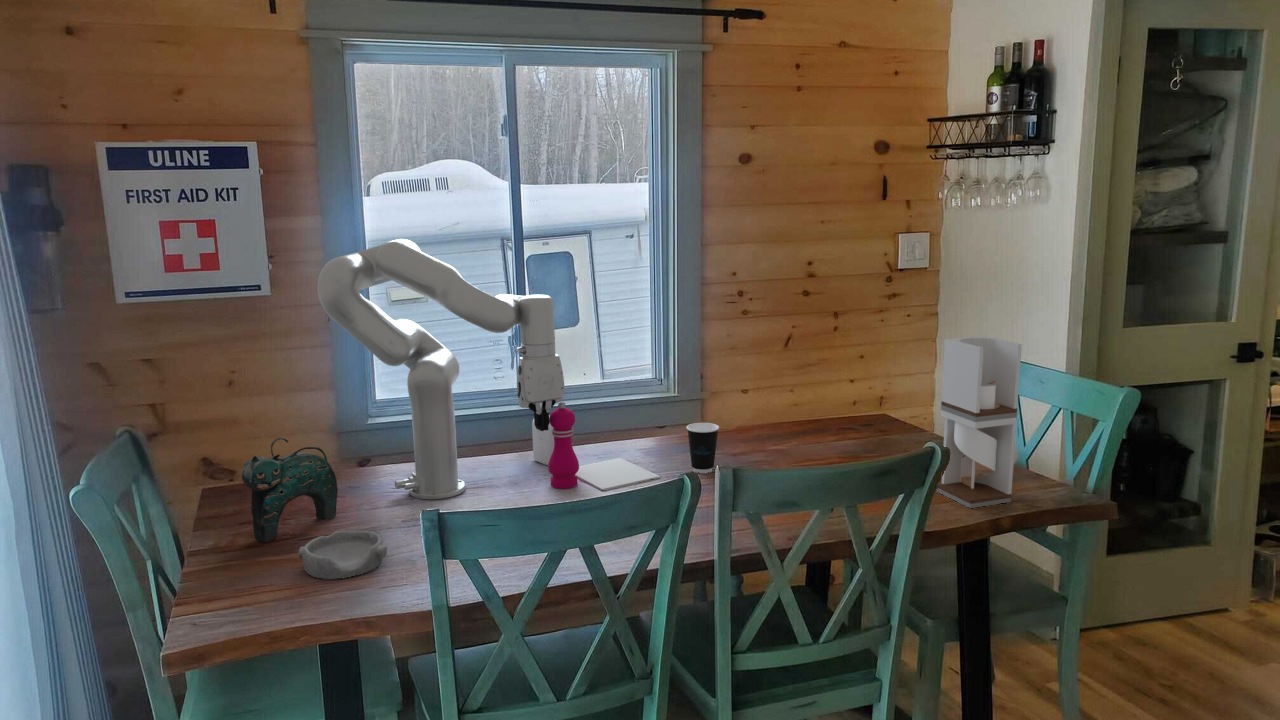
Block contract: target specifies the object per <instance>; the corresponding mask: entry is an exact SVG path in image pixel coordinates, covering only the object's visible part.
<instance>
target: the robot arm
mask: <svg viewBox="0 0 1280 720" xmlns="http://www.w3.org/2000/svg"><path fill="white" fill-rule="evenodd" d="M392 281H393V282H395V283H397V284H399V285H401V286H403V287H405V288H406V289H409V290H411V291H414V292H416V293H418V294H420V295H422V296H423V297H426V298H429V300H432V301H434V302H436V303H437V304H438V305H440V306H441V307H443V308H445V310H448V311H449V312H451V313H452V314H454V315H455V316H457V317H459V318H460V319H462V320H464V321H467V322H468V323H470V324H472V325H475V326H477V327H479V328H480V329H483V330H485V331H488V332H489V333H495V334H503V333H507V332H508V331H510V330H511V329H512V328H513V327H514V326H520V346H519V347H516V350H515V352H516V354H517V355H518V354H520V355H521V356H519V360H518V365H517V374H516V375H517V376H516V377H517V378H516V391H517V398H518V403H517V404H518V407H519V408H524V409H530V411H531V412H532V413H533V419H534V423H535V427H536V429H538V430H540V431H544V430H548V425H549V415H550V414H551V412H552V409H553V407H554V406H555V404H559V402H563V401H564V396H565V393H566V392H565V391H566V389H565V379H564V372H563V371H564V370H563V365H562V361H561V357H560V355H559V354H557V353H556V336H555V314H554V299H553V298H552V297H551V296H550V295H548V294H529V295H519V294H518V295H516V294H511V293H510V294H507V293H501V294H497V295H492V294H490V293H488V292H485V291H483V290H482V289H480V288H478V287H476V286H474V285H472V283H469V282H468V281H467V280H466V279H464V277H463V276H462V275H461V274H460V272H459V271H458V270H457V269H456V268H455V267H453V266H452V265H450V264H448V263H445V262H443V261H441V260H439V259H438V258H435V257H433V256H431V255H429V254H427V253H425V252H422V251H421V249H420V247H419V246H418V245H417V244H416V243H415V242H413V241H411V240H409V239H405V238H398V239H394V240H390V241H387V242H385V243H383V244H380V245H377V246H373V247H370V248H367V249H363V250H360V251H356V252H352V253H349V254H345V255H341V256H338V257H334V258H332V259H330V260H329V261H328V262H326V263H325V265H324V266H323V267H322V268H321V270H320V272H319V276H318V279H317V295H318V296H317V297H318V299H319V302H320V304H321V307H322V308H323V309H324V312H325V313H326V314H327V315H328V316H329V317H330V318H331V319H332V321H334V322H335V323H337V324H338V326H340V327H341V328H342V329H344V330H345V331H346V332H347V333H348V334H349V335H351V336H352V337H353V338H354V339H355V340H356V341H357V342H358V343H360V344H361V345H362V346H363V347H364V348H366V350H368V351H369V352H370V353H372V354H373V355H374V356H375V357H376V358H377V359H378V360H380V362H382V363H383V364H385V365H387V366H389V367H391V366H392V367H397V366H398V367H399V366H401V365H404V366H406V367H407V368H408V369H409V372H408V374H407V375H408V376H407V380H406V381H407V382H406V383H407V384H406V385H407V393H408V397H409V402H410V403H409V404H410V412H411V424H412V425H411V426H412V436H413V437H412V439H413V440H412V441H413V453H414V454H413V455H414V471H415V472H413V471H412V472H411V476H408V477H407V478H405V479H403V478H402V479H397V480H395V481H394V487H395V489H396V490H399V489H404V490H405V491H407V490H409V494H410V495H411V496H412V497H413V498H417V499H419V500H420V499H422V500H442V499H447V498H448V499H449V498H453V497H455V496H458V495H460V494H462V493H463V492H464V491H466V483H465V481H463V480H462V479H459V471H458V469H459V468H458V449H457V447H458V446H457V431H456V416H455V414H456V413H455V405H454V398H453V385H454V384H455V382H456V381H457V380H458V378H459V374H460V364H459V361H458V359H457V357H456V356H455V355H454V354H453V353H452V352H451V351H450V350H449V349H448V348H447V347H446V346H444V344H442V343H441V342H440V341H438V340H437V339H436V338H435V337H434V336H433V335H432V334H431V333H429V332H428V331H427V330H425V329H424V328H423V327H422V326H421V325H419V324H418V323H416V322H415V321H413V320H410V319H405V318H397V319H393V318H392V317H390V316H389V315H387V314H386V313H385V312H384V311H383V310H382V309H381V308H380V307H379V306H377V305H376V304H375V303H373V302H371V301H370V300H369V299H367V298H365V297H364V296H363V294H361V292H360V291H363V290H365V289H367V288H372V287H375V286H377V285H381V284H384V283H387V282H392Z"/></svg>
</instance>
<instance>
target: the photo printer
mask: <svg viewBox="0 0 1280 720" xmlns="http://www.w3.org/2000/svg"><path fill="white" fill-rule="evenodd" d="M549 417H550V414H549ZM531 427H532V428H531V432H532V433H531V434H532V453H533V460H534V461H536V462H538V463H540V464H543V465H545V466H548V463H549V459H550V457H551V455H552V453H553V449H554V436H552V429H553V427H552V426H551V425H550V423H549V425H548V430H544V431H540V430H538V429H536V427H535V423H534V418H533V420H532V421H531Z"/></svg>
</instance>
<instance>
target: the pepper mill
mask: <svg viewBox="0 0 1280 720" xmlns="http://www.w3.org/2000/svg"><path fill="white" fill-rule="evenodd" d="M557 406H558V407H557V408H555V409H554V410H551V412H550V413H549V415H550V417H549V423H550V425H551V426H552V427H553V429H552V436H554V449H553V453H552V455H551V457H550V459H549V463H548V465H547V470H548V472H549V474H551V477H550V486H551V487H552V488H554V489H560V490H564V489H565V490H567V489H572V488H573V489H574V488H575V487H576V486H577V485H578V478H577V476H576V475H575V474H576V473H577V472H578V470H579V466H580V463H579V460H578V457H577V455H576V453H575V451H574V448H573V444H572V443H573V442H572V439H573V438H572V436H574V428H573V426H574V425H575V423H576V416H575V413H574V411H572V410H571V409H570V408H567V407H566V402H564V401H560V402H558V403H557Z"/></svg>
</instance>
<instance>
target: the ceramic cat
mask: <svg viewBox="0 0 1280 720" xmlns="http://www.w3.org/2000/svg"><path fill="white" fill-rule="evenodd" d="M280 440H282V441H284V442H286V443H287V444H288V443H289V440H288V439H287V438H285V437H277V438H276V439H274V440H272V442H271V444H270V451H271V452H270V453H271V457H267V456H256V455H254V456H253V457H252V458H250V459H248V460H247V461H246V462H245V463H244V464H243V466H242V471H241V479H242V483H244V485H245V486H246V487H248V488H249V489H251V511H250V512H251V515H252V516H251V517H252V526H253V527H252V528H253V535H254V540H255V539H256V541H258V542H260V541H262V542H261V543H263V542H264V543H263V544H266V543H265V542H267V543H269V542H272V541H275V540H277V538H278V529H279V528H278V527H279V521H280V518H281V516H282V514H283V511H284V509H285V507H286V505H288V504H289V502H291V501H293V500H295V499H296V498H297V499H298V497H301V496H306V497H309V498H310V499H312V501H313V504H314V508H315V516H316V518H317V519H320V520H321V519H322V521H326V520H327V519H328V520H331V519H333V517H334V518H335V517H336V516H337V500H338V490H339V489H338V482H337V480H338V479H337V476H336V474H335V471H334V469H333V468H332V466H331V464H330V463H329V462H328V458H327V456H326V454H325V452H324V450H323V449H322V448H320V447H318V446H317V447H316V446H305V447H301V448H300V449H297V450H295V451H294V452H293V453H290V454H288V455H285V456H282V457H281V454H275V455H274V452H273V446H274V445H275V443H276V442H277V441H280ZM304 450H317V451H319V452H320V453H321V454H322V455H323V457H322V456H320V455H317V454H314V453H310V452H301V451H304ZM279 457H281V458H279ZM328 520H327V521H328ZM274 539H275V540H274ZM271 540H272V541H271ZM268 541H269V542H268Z"/></svg>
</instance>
